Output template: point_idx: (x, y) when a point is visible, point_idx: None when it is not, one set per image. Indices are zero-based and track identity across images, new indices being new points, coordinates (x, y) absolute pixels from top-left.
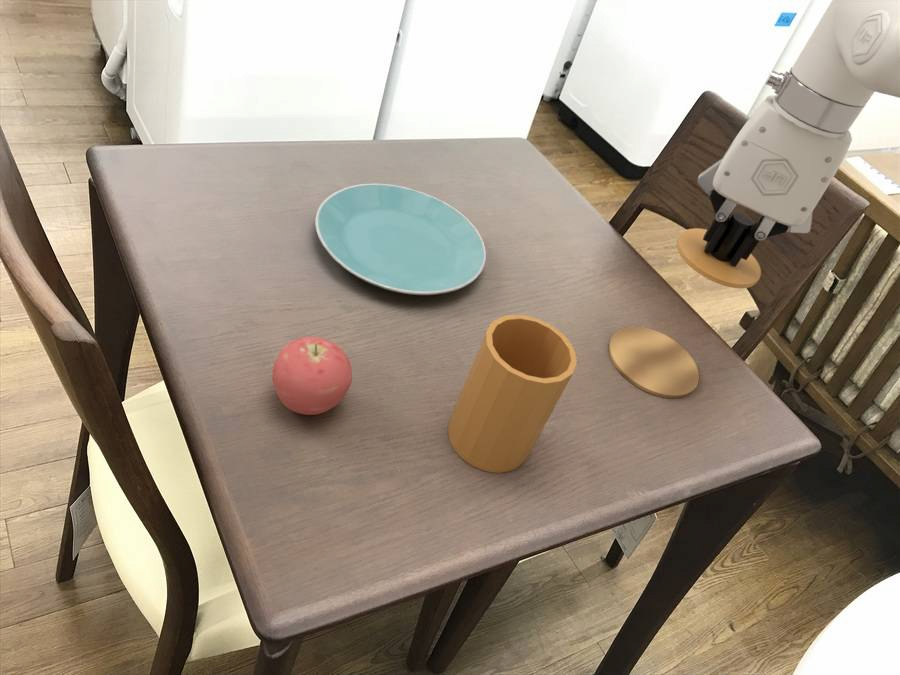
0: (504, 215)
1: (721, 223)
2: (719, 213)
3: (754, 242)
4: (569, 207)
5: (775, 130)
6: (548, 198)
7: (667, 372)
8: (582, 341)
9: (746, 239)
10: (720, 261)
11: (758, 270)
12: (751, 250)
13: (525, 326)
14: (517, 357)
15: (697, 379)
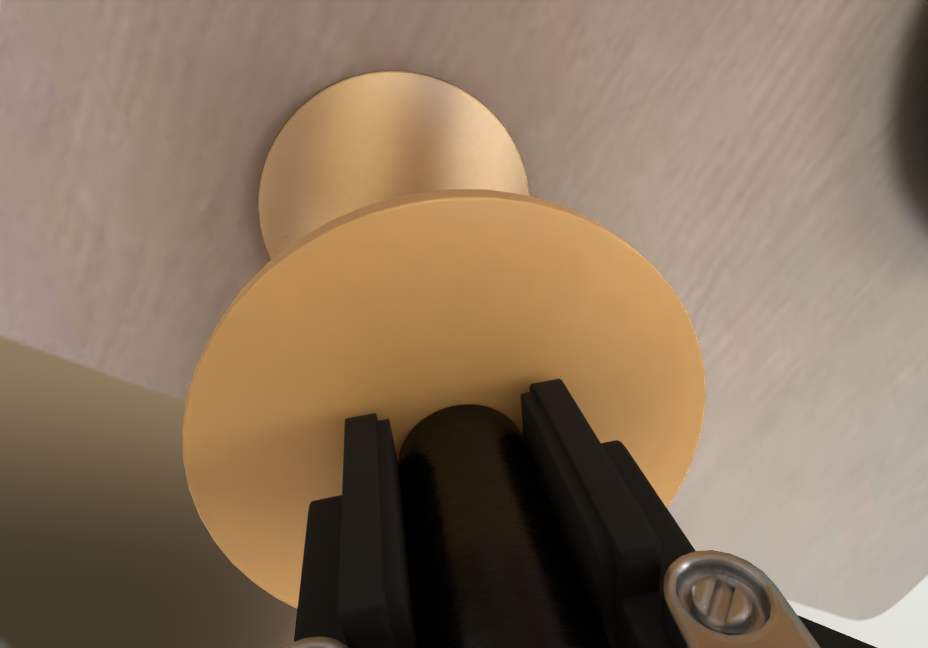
0: (871, 399)
1: (659, 555)
2: (757, 615)
3: (323, 617)
4: (744, 545)
5: None
6: (792, 531)
7: (348, 198)
8: (588, 126)
9: (393, 576)
10: (440, 402)
11: (227, 532)
12: (312, 558)
13: None
14: None
15: (269, 244)
